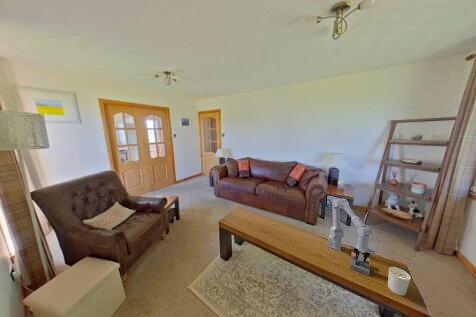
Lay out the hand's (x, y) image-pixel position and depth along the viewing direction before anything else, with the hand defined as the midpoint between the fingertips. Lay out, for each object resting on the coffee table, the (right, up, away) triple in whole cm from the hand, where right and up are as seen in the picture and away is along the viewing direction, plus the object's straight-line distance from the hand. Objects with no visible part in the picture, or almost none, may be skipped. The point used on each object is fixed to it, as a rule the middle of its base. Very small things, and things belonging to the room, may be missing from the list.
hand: (360, 259), depth 118 cm
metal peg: (0, -2, 0) cm, 2 cm away
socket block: (+1, -7, +2) cm, 7 cm away
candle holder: (+11, -10, -15) cm, 21 cm away
